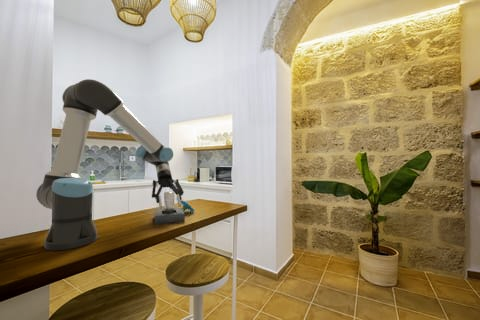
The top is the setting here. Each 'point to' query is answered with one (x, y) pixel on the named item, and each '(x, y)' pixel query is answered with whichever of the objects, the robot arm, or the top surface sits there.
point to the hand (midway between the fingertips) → (170, 206)
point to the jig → (169, 216)
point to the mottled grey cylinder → (168, 202)
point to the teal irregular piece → (186, 206)
